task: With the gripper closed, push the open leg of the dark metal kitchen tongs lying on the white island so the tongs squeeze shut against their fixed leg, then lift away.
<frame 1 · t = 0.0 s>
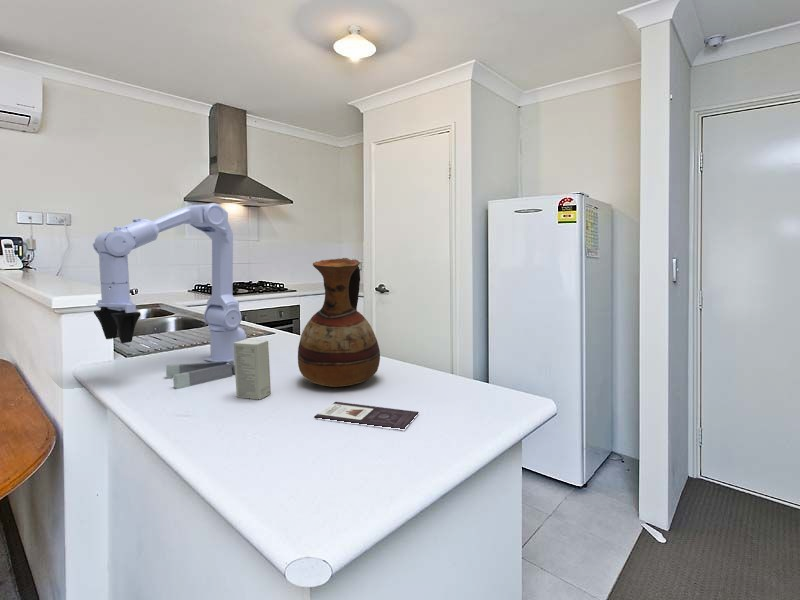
hand: (118, 340, 110), 10 cm above the table, tool pointing down, fingers open, 7 cm apart
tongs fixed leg: (235, 373, 120), on the table
tongs moving leg: (204, 375, 112), point 2 cm above the table, hinge at 32.0°
chocolate bar: (367, 419, 90), on the table
skincare box: (253, 396, 102), on the table
ceramic pitcher: (339, 381, 114), on the table
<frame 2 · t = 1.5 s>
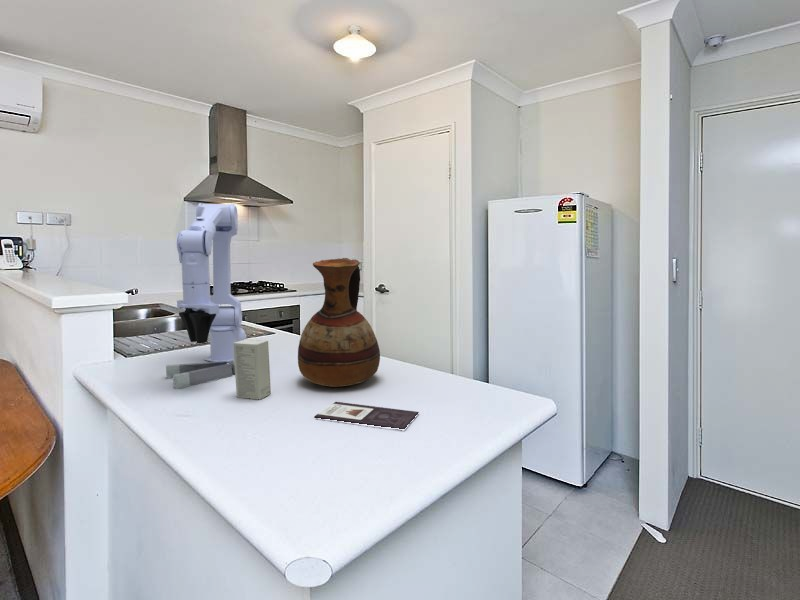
hand: (198, 342, 108), 10 cm above the table, tool pointing down, fingers closed
nothing on the table moved.
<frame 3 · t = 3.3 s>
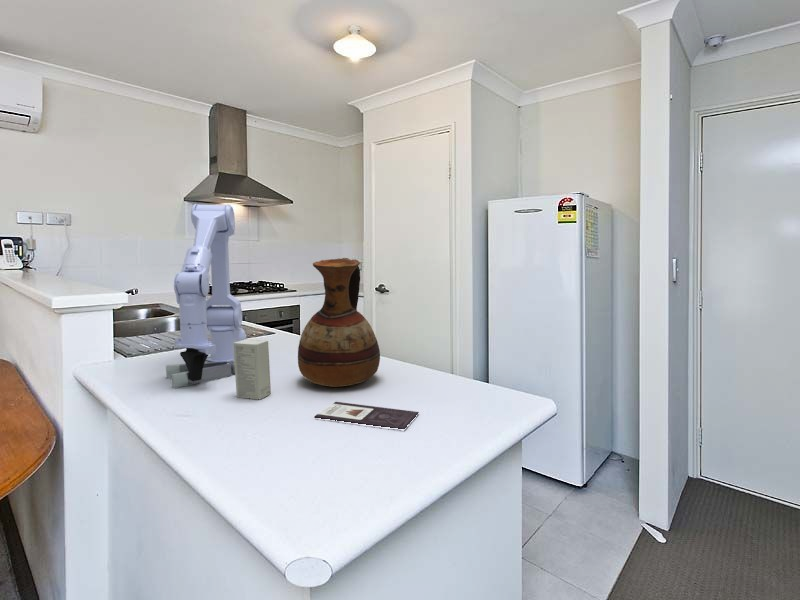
hand: (196, 380, 110), 1 cm above the table, tool pointing down, fingers closed
tongs moving leg: (202, 375, 112), point 1 cm above the table, hinge at 29.1°, touching gripper
everything else where it was.
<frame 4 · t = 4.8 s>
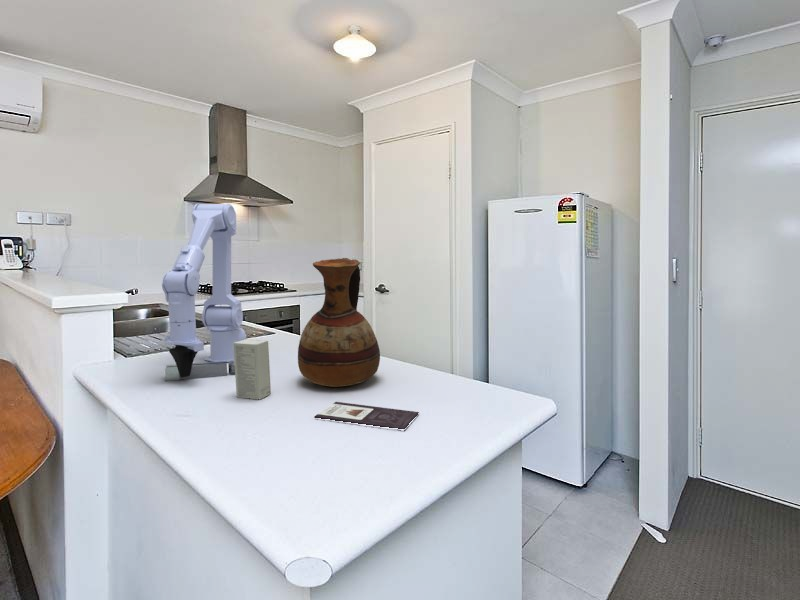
hand: (185, 376, 113), 1 cm above the table, tool pointing down, fingers closed
tongs moving leg: (196, 371, 116), point 2 cm above the table, hinge at 1.2°, touching gripper
everything else where it was.
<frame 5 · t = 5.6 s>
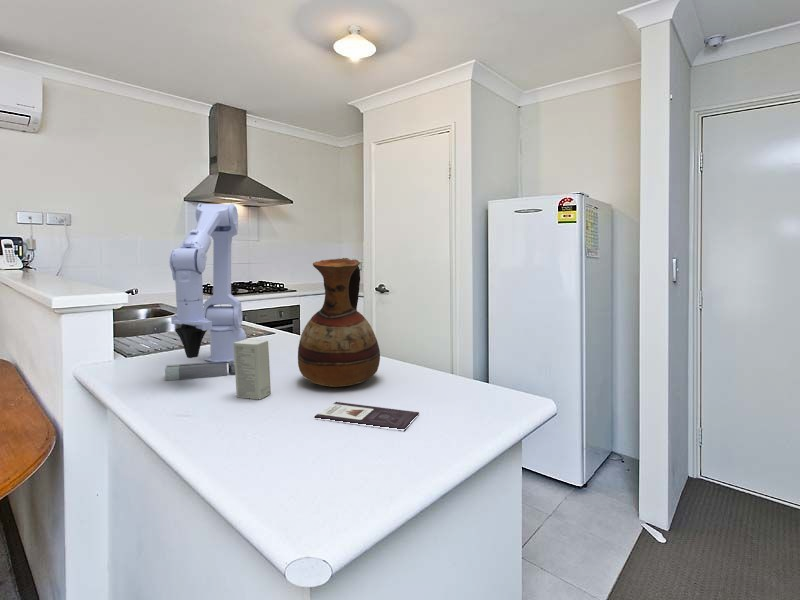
hand: (192, 357, 110), 6 cm above the table, tool pointing down, fingers closed
tongs moving leg: (196, 371, 116), point 2 cm above the table, hinge at 1.2°
everything else where it was.
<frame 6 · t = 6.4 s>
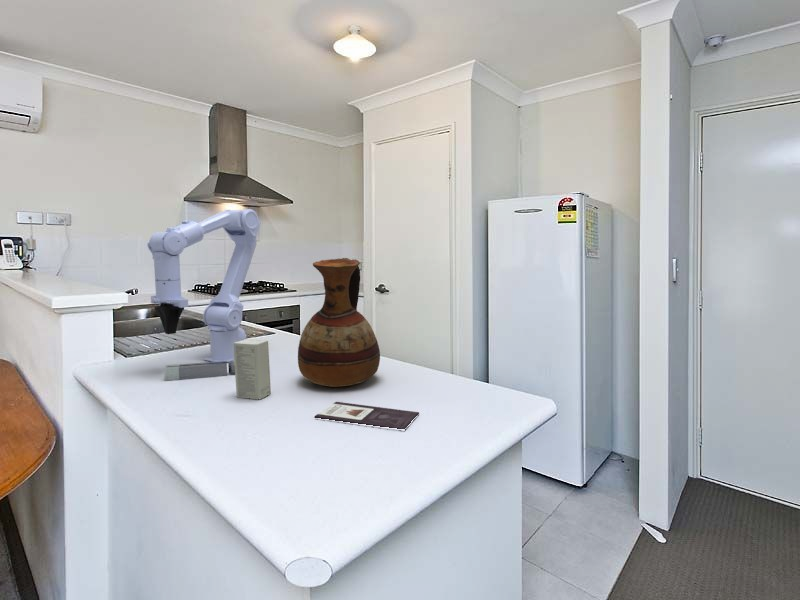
hand: (170, 333, 118), 10 cm above the table, tool pointing down, fingers closed
nothing on the table moved.
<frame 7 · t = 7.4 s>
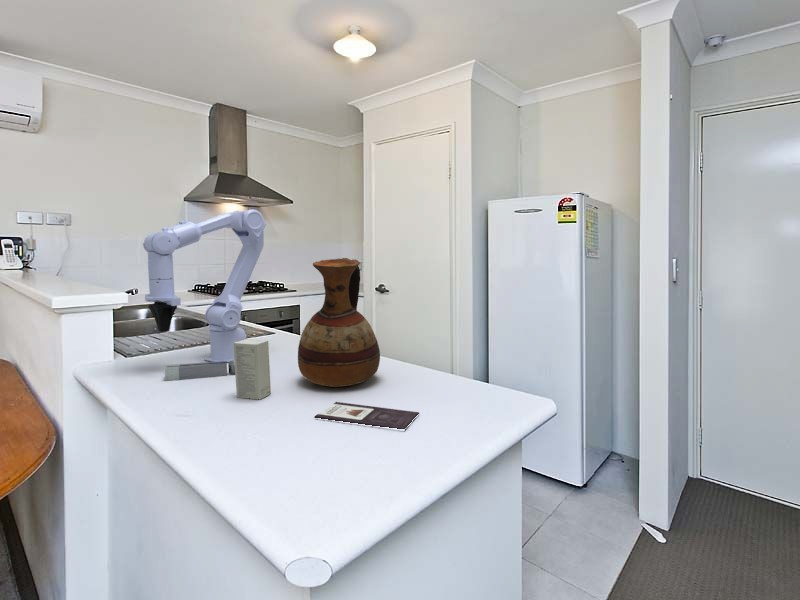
hand: (164, 331, 121), 10 cm above the table, tool pointing down, fingers closed
nothing on the table moved.
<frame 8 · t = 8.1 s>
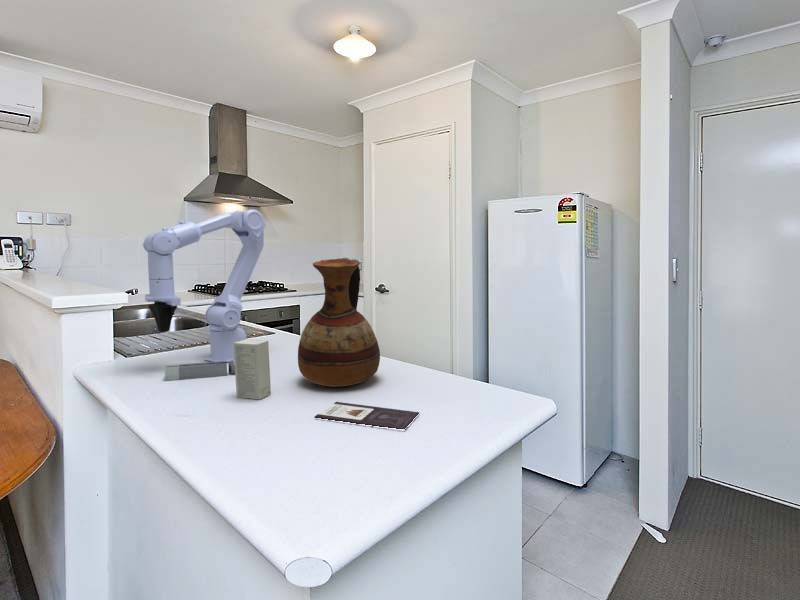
hand: (164, 331, 121), 10 cm above the table, tool pointing down, fingers closed
nothing on the table moved.
at the end: tongs moving leg at +1° (first picture: +32°); the gripper is holding nothing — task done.
